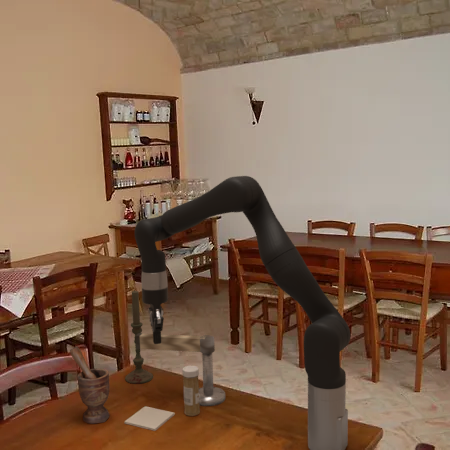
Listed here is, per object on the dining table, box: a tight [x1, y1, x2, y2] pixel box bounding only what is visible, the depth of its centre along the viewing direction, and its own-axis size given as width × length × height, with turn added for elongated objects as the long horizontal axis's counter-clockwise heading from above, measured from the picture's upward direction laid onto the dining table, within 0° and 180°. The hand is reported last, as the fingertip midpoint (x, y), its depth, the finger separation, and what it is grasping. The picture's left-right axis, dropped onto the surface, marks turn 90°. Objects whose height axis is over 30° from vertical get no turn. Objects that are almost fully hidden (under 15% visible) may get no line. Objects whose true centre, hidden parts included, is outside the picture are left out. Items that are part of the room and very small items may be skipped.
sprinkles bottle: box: [182, 365, 201, 417], centre depth 163 cm, size 5×5×14 cm
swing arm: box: [135, 332, 216, 354], centre depth 172 cm, size 24×4×4 cm, turn 79°
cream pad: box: [124, 405, 176, 432], centre depth 161 cm, size 10×10×1 cm
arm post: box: [199, 353, 226, 407], centre depth 172 cm, size 10×10×14 cm
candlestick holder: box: [124, 289, 154, 385], centre depth 186 cm, size 9×9×30 cm
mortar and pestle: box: [69, 346, 110, 424], centre depth 161 cm, size 12×9×20 cm
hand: (157, 343), depth 170 cm, fingers closed
